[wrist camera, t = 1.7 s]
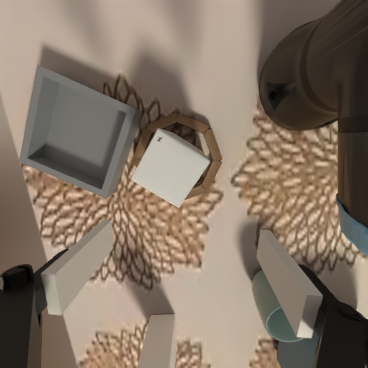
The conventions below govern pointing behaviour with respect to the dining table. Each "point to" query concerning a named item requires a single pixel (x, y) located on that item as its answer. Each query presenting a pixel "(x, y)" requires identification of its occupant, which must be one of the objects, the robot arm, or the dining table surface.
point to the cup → (271, 310)
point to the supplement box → (170, 167)
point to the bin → (78, 133)
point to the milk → (160, 343)
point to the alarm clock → (298, 352)
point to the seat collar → (193, 125)
